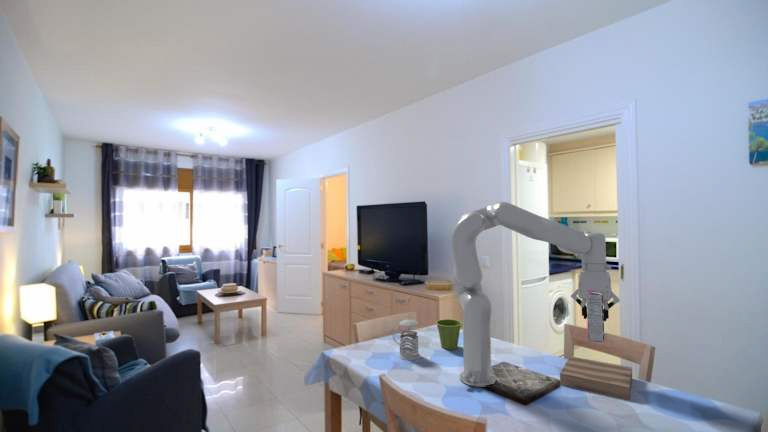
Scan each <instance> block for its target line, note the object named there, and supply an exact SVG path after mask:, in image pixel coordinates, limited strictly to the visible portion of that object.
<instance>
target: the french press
mask: <svg viewBox="0 0 768 432" xmlns="http://www.w3.org/2000/svg"><path fill="white" fill-rule="evenodd" d="M406 301H408V302H407V303H408V305H407V307H408V308H407V309H408V312H407V313H408V316H407V317H410V301H411V297H410V296H407V297H406ZM399 325H400V326H399ZM399 325H398V326H396V327H395V329H394V330H393V333H392V334H393V335H392V337H393V338H392V339H393V341H394V342H395V343H396V345H399V353H398V355H397V357H398V358H399V359H401V360H404V361H405V360H406V361H414V360H418V359H420V358H421V353H419V336H418V332H417V331H414V330H410V329H408V330H403V331H401V332H400V334H401V335H400V336H399V340H400V341H399V342H398V341H397V340H396V338H395V332H396V330H397V329H401V327H405V328H407V327H408V328H410V327H411V328H412V327H417V326H418V325H419V323H418V322H417V320H413V319H410V318H408V319H403V320H402V321H400V322H399Z"/></svg>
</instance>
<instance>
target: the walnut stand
mask: <svg viewBox="0 0 768 432" xmlns="http://www.w3.org/2000/svg"><path fill="white" fill-rule="evenodd" d="M559 381H560V382H559V384H560V383H561V385H560V386H564V387H568V388H572V389H578V390H583V391H587V392H590V393H595V394H600V395H605V396H609V397H614V398H617V399H618V398H619V399H623V400H626V401H627V400H628V401H630V400H631V392H632V385H633V384H632V383H633V367H632V366H629V365H628V366H627V365H621V364H616V363H610V362H604V361H600V360H594V359H589V358H588V359H587V358H581V357H576V356H571V355H570V356H569V357H568V359H567V360H566V362H565V364H564V366H563V367H562V369H561V370H560V372H559Z"/></svg>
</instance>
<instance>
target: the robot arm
mask: <svg viewBox="0 0 768 432" xmlns="http://www.w3.org/2000/svg"><path fill="white" fill-rule="evenodd" d="M497 226H502V227H503V228H507V229H509V230H510V231H513V232H515V233H518V234H520V235H522V236H525V237H527V238H530V239H532V240H536V241H541V242H545V243H548V244H551V245H554V246H556V247H557V249H558V250H560V251H561V252H563V253H566V254H571V255H572V254H573V255H578V256H579V255H581V270H579V275H578V281H577V283H578V285H577V289H576V290H575V291H573V293H572V294H571V295H570V297H571V298H572V299H573V300H574V302H576V303H577V304H578V305H579V306H580V307H581V316H582V317H583V320H587V292H601V293H602V294H603V315H604V322H606V321H607V319H609V317H610V315H609V311H610V309H611V308H612V307H613V306H615V305H617V303H619V302H620V298H619V297H618V296H617V295H616V294H615V292H613V291H612V281H611V275H610V272H609V271H608V270H611V269H612V265H610V264H608V263H607V250H606V247H607V245H606V244H607V242H606V235H605V234H604V233H601V232H585V233H583V232H581V231H580V230H577V229H575V228H573V227H570V226H567V225H566V224H562V223H560V222H557V221H554V220H551V219H549V218H547V217H543V216H541V215H538V214H536V213H533V212H531V211H528V210H526V209H523V208H522V207H519V206H517V205H514V204H512V203H511V202H506V201H499V202H495V203H492V204H490V205H487V206H485V207H482V208H479V209H475V210H472V211H469V212H466V213H464V214H462V215H461V216H460V217H459V219H458V222H457V224H456V225H455V227H454V229H453V232H452V234H451V240H450V241H451V242H450V243H451V244H450V245H451V251H452V256H453V262H454V263H453V264H454V265H453V271H452V275H453V280H454V284H455V288H456V292H457V296H458V301H459V304H460V306H461V308H462V310H463V319H462V335H463V337H462V339H463V341H462V343H463V344H462V345H463V371H461V373H459V380H460V381H461V382H462V383H463V384H464V385H465V384H466V385H468V386H472V387H477V388H486V385H489V384H492V383H494V382H495V381H497V379H496V376H495V375H494V374H493V373H492V349H491V348H492V345H491V344H492V342H491V322H492V321H491V319H492V304H491V301H490V298H489V297H488V295H486V294H485V293H484V292H483V289H482V283H481V282H482V280H483V272H482V269H481V264H480V261H479V257H478V256H479V255H478V252H477V247H476V241H477V238H478V236H479V235H480V234H481V233H482V232H484V231H486V230H489V229H492V228H496V227H497ZM611 299H613V300H612V301H611ZM609 301H610V302H609ZM493 377H494V378H493ZM495 383H496V382H495Z"/></svg>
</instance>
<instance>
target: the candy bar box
mask: <svg viewBox="0 0 768 432" xmlns="http://www.w3.org/2000/svg"><path fill="white" fill-rule="evenodd" d="M586 307H587V318H586V321H587V333H588V334H587V335H588V341H591V342H598V343H599V342H600V343H605V321H604V315H603V309H604V305H603V294H602V293H601V292H587V301H586Z"/></svg>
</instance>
